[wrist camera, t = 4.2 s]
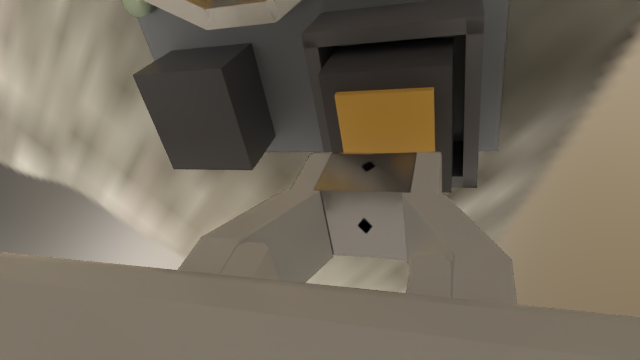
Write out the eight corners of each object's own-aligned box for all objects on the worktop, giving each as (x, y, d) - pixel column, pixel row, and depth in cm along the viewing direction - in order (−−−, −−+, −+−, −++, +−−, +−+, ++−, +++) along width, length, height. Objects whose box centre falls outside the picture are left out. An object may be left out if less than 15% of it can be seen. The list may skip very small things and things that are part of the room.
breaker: (336, 47, 12) (315, 77, 10) (453, 37, 11) (451, 68, 9) (352, 153, 14) (336, 193, 12) (452, 153, 13) (450, 196, 11)
